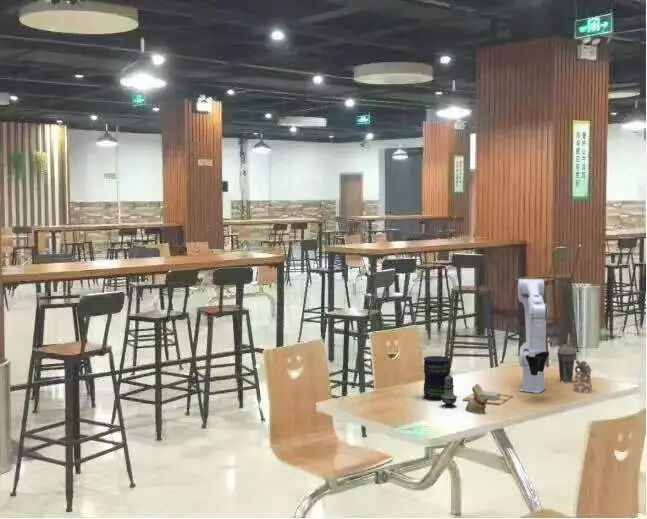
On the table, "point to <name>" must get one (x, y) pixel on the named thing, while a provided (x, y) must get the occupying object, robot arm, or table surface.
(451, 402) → the salt shaker
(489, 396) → the tile
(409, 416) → the table surface
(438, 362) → the storage jar
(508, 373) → the table surface
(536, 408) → the table surface
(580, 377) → the figurine
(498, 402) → the wooden board
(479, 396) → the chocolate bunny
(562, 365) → the beverage cup
